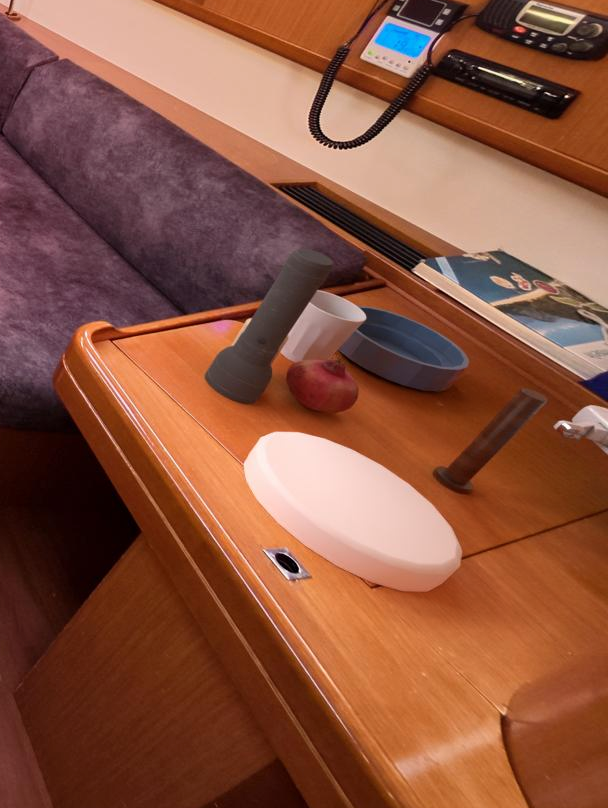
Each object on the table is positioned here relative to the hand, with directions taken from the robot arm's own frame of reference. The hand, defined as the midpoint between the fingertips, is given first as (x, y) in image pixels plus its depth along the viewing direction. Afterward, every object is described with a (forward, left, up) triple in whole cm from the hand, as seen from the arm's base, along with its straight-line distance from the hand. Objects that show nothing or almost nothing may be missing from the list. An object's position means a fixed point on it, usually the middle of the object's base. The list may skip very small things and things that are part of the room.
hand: (589, 456), depth 84 cm
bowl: (+12, -25, -11) cm, 29 cm away
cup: (+24, -16, -11) cm, 31 cm away
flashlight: (+34, +2, -11) cm, 36 cm away
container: (+23, +21, -11) cm, 33 cm away
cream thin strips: (+32, -6, -11) cm, 34 cm away
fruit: (+24, -2, -11) cm, 26 cm away
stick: (+9, +3, -11) cm, 14 cm away
